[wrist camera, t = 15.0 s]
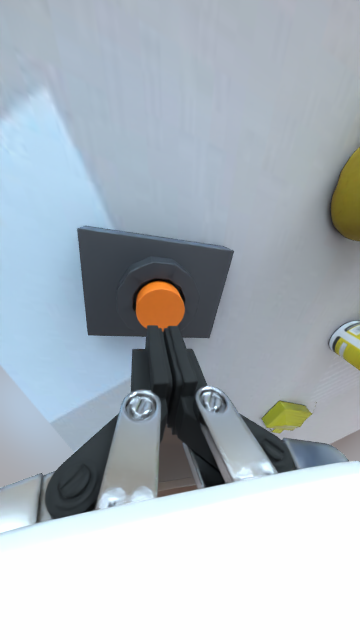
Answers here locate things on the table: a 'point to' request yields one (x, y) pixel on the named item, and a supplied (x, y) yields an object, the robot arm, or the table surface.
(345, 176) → the mug
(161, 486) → the cabinet
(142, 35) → the table surface
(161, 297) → the button
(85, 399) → the table surface
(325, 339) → the table surface
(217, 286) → the control block
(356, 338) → the supplement bottle
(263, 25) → the table surface
